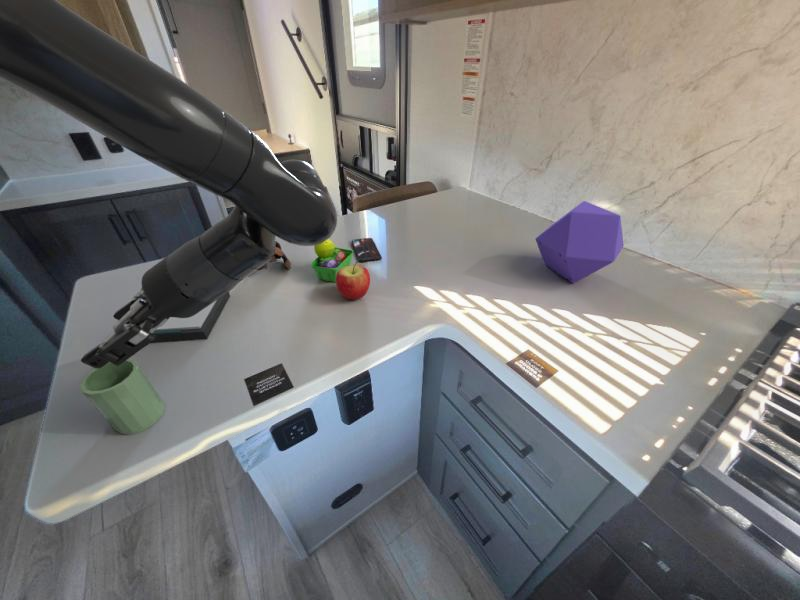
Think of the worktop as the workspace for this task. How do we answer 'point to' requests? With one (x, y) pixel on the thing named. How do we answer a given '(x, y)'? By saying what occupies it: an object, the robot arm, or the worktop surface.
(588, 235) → the purple polyhedron
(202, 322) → the scale
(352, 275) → the apple
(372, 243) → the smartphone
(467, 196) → the worktop surface
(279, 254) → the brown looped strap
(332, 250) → the fruit basket
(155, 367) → the worktop surface
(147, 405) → the tumbler
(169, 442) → the worktop surface
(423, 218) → the worktop surface
